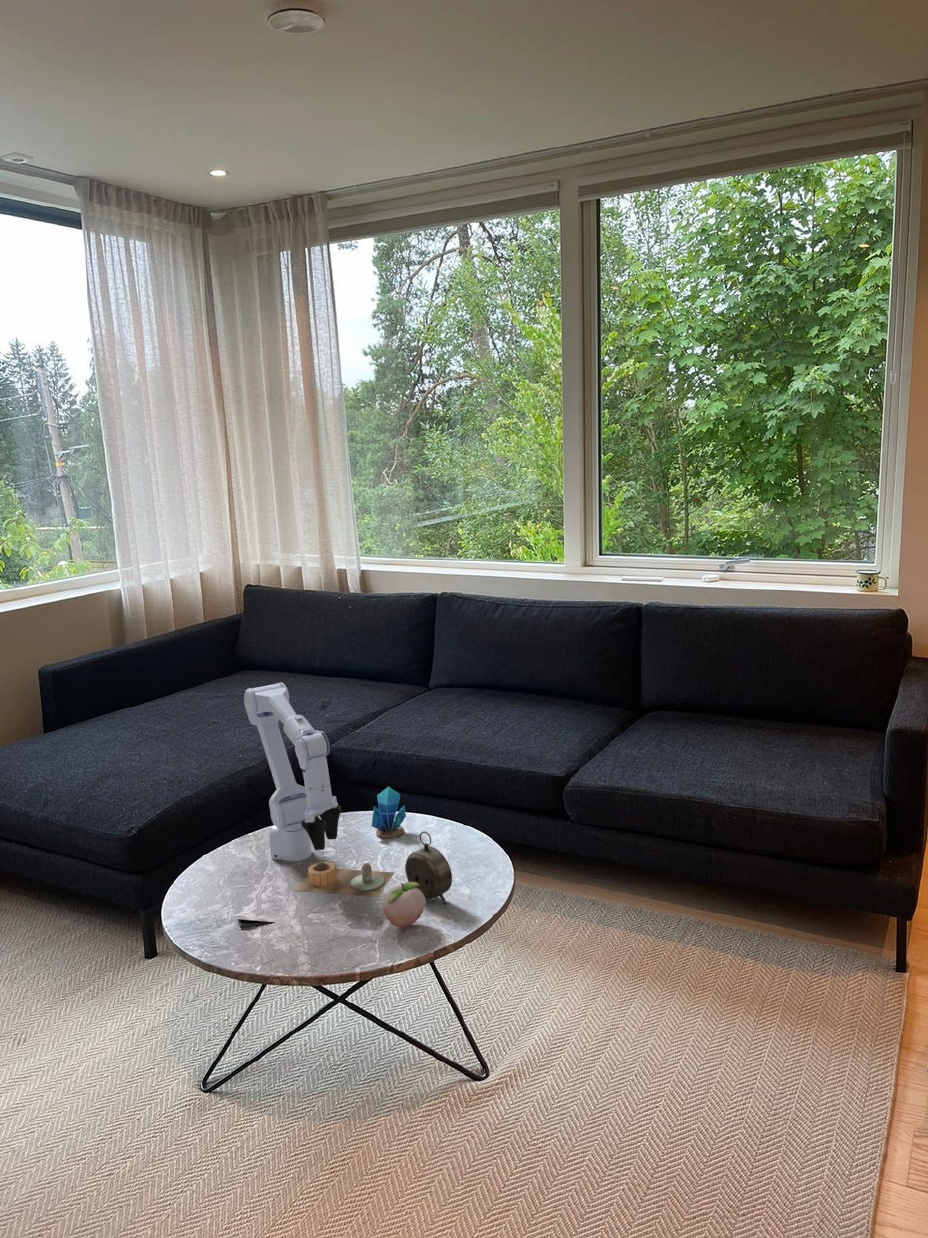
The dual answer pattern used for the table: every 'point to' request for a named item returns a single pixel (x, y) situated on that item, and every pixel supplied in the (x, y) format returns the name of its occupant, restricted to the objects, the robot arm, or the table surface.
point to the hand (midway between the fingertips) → (326, 844)
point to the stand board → (350, 882)
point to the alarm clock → (429, 871)
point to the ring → (322, 874)
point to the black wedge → (252, 923)
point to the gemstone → (388, 815)
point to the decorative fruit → (403, 904)
